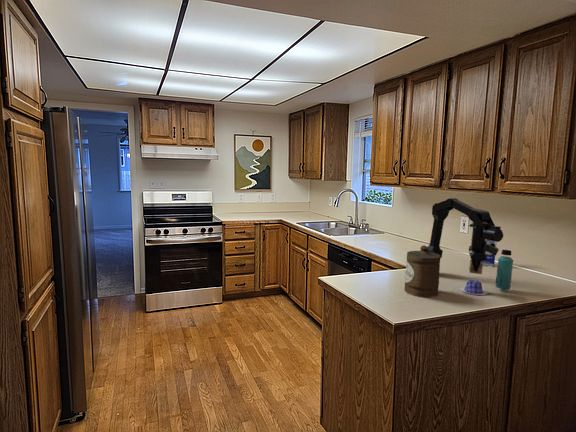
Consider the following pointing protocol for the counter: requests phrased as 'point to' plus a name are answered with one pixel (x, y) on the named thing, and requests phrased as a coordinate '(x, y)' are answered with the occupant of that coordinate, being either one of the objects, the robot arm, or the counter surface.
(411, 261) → the wooden container
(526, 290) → the counter surface
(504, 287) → the beverage bottle
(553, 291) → the counter surface
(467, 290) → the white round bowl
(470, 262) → the walnut block
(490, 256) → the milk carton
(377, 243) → the counter surface
